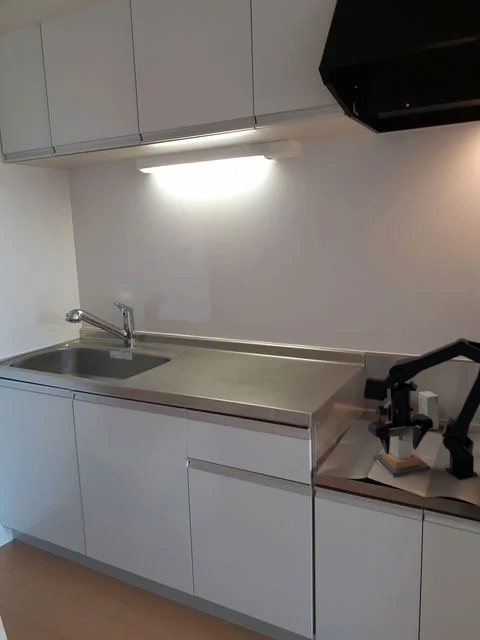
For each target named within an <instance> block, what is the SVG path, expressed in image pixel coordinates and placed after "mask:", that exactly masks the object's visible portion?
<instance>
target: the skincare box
mask: <svg viewBox="0 0 480 640" xmlns="http://www.w3.org/2000/svg"><path fill="white" fill-rule="evenodd" d="M418 414H424V415H426V416H428V417H429V418H431V419H432V420H433V428H432V429H434V430H439V427H440V426H439V425H440V424H439V420H440V419H439V416H440V415H439V395H438V394H436V393H434V392H432V391H430V390H428V391H427V390H425V391H419V392H418ZM434 430H433V431H434Z"/></svg>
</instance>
